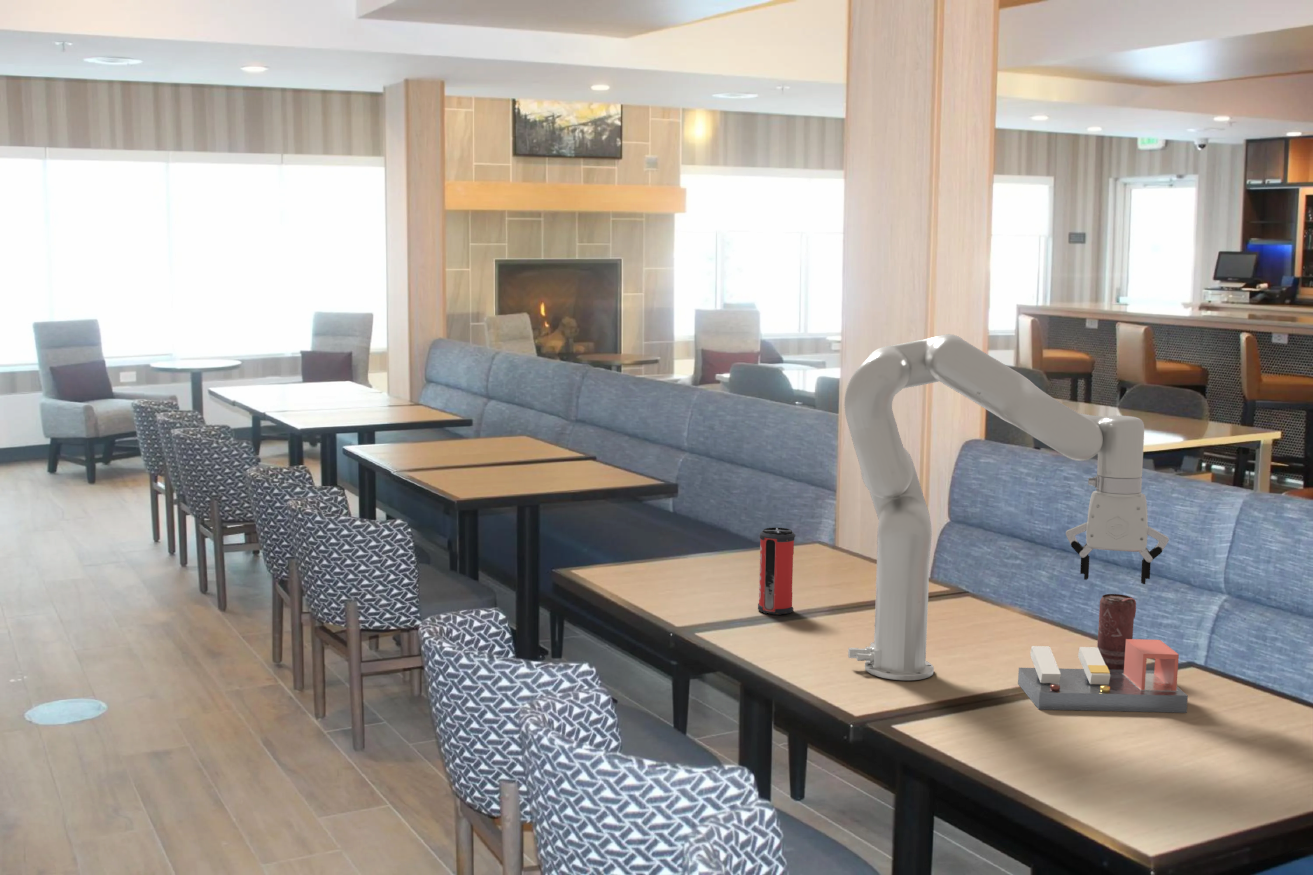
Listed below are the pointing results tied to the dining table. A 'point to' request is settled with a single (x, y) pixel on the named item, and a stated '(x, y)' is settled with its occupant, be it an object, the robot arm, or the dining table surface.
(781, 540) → the speaker
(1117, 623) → the can
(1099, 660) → the block
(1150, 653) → the cap
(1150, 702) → the panel
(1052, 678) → the block
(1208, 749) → the dining table surface
